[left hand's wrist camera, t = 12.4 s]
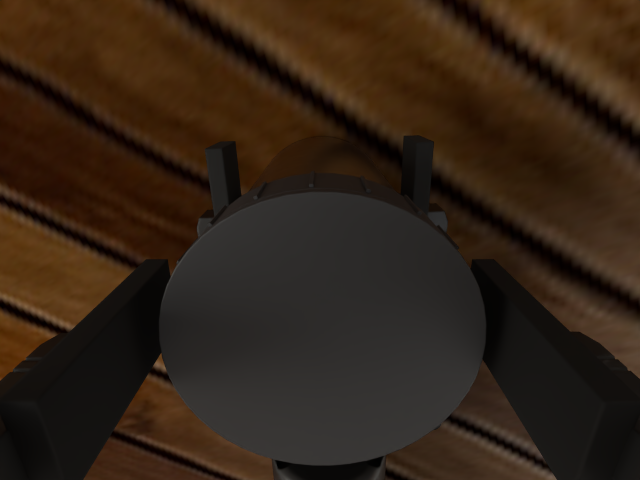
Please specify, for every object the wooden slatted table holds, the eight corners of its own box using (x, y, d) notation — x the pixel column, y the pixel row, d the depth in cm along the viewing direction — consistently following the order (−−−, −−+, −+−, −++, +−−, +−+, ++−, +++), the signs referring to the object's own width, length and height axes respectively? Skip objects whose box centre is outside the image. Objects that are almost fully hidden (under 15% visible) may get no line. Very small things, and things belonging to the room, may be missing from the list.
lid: (331, 446, 15) (333, 505, 13) (133, 316, 13) (95, 361, 11) (516, 296, 13) (557, 339, 10) (308, 102, 10) (304, 105, 8)
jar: (326, 280, 27) (332, 483, 13) (233, 206, 25) (120, 351, 11) (410, 195, 25) (529, 330, 11) (316, 107, 23) (307, 127, 9)
